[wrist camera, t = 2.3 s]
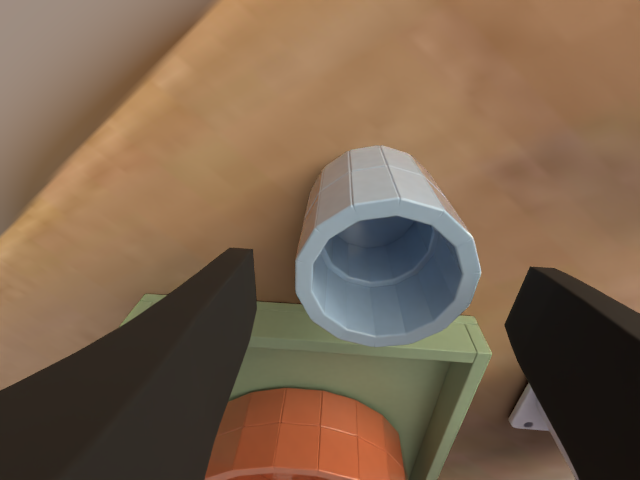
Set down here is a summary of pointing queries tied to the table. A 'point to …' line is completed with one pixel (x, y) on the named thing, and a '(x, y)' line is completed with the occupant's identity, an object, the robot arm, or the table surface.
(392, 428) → the big bowl
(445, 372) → the tray
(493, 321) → the table surface
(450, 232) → the pale blue cup
